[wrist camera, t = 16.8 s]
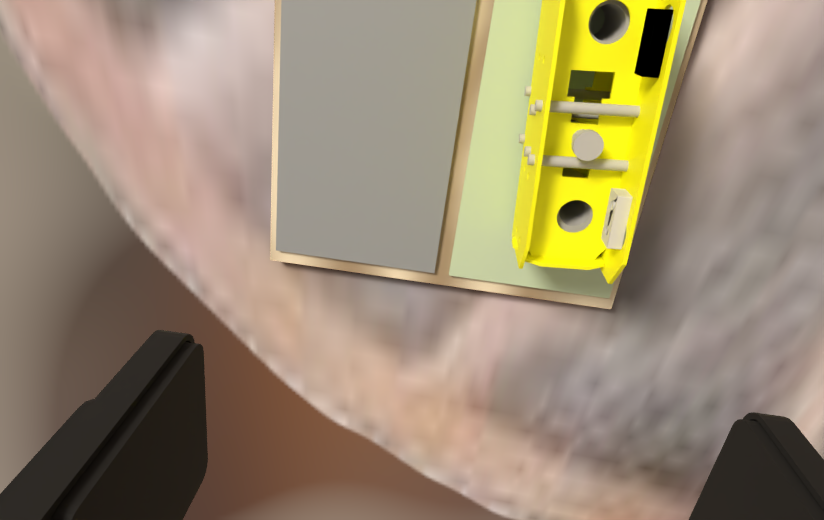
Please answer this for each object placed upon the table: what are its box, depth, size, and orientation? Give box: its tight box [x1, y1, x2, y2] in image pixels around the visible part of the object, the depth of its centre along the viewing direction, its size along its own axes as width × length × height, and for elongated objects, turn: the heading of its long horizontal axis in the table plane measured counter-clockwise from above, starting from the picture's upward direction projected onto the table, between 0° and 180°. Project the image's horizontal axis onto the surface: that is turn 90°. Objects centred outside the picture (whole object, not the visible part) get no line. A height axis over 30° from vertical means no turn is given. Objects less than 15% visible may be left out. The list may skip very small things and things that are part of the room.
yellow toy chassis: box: [512, 0, 686, 284], centre depth 30 cm, size 16×6×8 cm, turn 177°
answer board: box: [270, 0, 707, 309], centre depth 35 cm, size 24×22×2 cm
